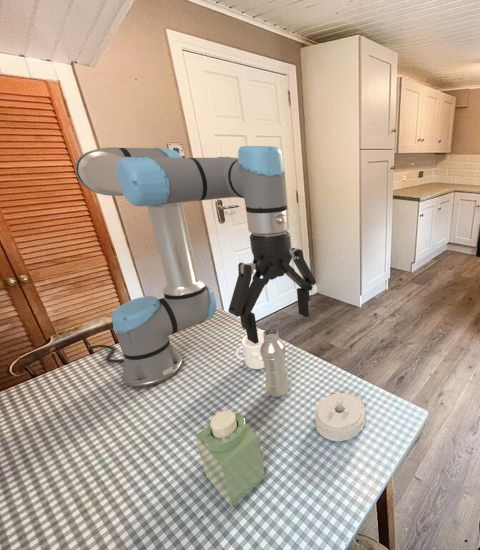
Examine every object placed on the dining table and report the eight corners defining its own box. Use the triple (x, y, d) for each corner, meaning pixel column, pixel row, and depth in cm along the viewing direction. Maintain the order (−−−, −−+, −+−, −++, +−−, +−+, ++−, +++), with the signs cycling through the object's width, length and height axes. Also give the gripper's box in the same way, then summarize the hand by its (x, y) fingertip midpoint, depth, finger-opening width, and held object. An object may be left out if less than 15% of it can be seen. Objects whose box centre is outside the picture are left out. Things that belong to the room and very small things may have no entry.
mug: (238, 378, 92) (233, 353, 88) (237, 358, 101) (233, 335, 97) (278, 368, 96) (275, 343, 93) (274, 350, 105) (271, 327, 102)
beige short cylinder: (208, 431, 58) (205, 421, 57) (229, 416, 62) (227, 406, 61) (220, 443, 56) (217, 433, 55) (241, 427, 59) (239, 417, 58)
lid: (349, 396, 85) (348, 382, 83) (374, 428, 75) (375, 412, 74) (307, 416, 79) (305, 401, 77) (329, 453, 69) (328, 437, 67)
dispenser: (206, 476, 64) (192, 427, 59) (238, 451, 69) (229, 403, 64) (232, 507, 58) (219, 456, 53) (265, 477, 64) (256, 427, 58)
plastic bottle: (284, 402, 83) (276, 340, 76) (262, 398, 84) (252, 337, 77) (294, 386, 89) (288, 327, 82) (273, 382, 90) (265, 324, 83)
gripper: (217, 250, 47) (237, 361, 55) (328, 224, 66) (332, 310, 74) (194, 242, 51) (216, 347, 59) (305, 219, 70) (310, 301, 78)
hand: (280, 327), depth 66 cm, fingers open, 13 cm apart
